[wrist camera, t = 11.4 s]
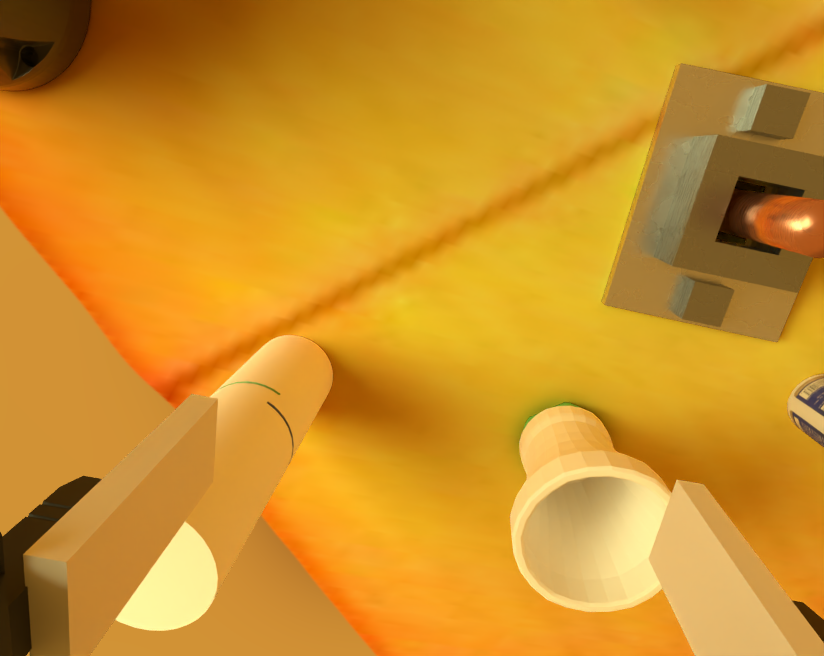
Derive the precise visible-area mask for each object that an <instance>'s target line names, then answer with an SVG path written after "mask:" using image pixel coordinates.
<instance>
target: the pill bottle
mask: <svg viewBox="0 0 824 656" xmlns="http://www.w3.org/2000/svg"><path fill="white" fill-rule="evenodd" d="M787 410H788V414H789V417H790V419H791V421H792V422H793V423H794V424H795V425H796V426H797V427H798V428H799V429H801V430H802V431H803V432H805V433H806V434H807V435H809V436H810V437H811V438H812V439H814V440H815V441H816V442H818V443H819V444H820V445H821V446H823V447H824V374H819V375H815V376H812V377H809V378H807V379H805V380H803V381H802V382H801V383H799V384H798V385H797V386H796V387H795V389H794V390H793V391H792V393H791V395H790V397H789V399H788V404H787Z"/></svg>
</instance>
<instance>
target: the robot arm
mask: <svg viewBox="0 0 824 656" xmlns="http://www.w3.org/2000/svg"><path fill="white" fill-rule="evenodd" d="M90 9H91V0H0V90H6V91H21V90H28V89H32V88H36V87H39V86H42V85H44V84H46V83H48V82H50V81H51V80H53V79H54V78H56V77H57V76H59V75H60V74H61V73H62V72H63V71H64V70H65V69H66V68H67V67H68V66H69V65H70V64H71V62H72V61H73V60H74V58H75V57H76V55H77V53H78V51H79V50H80V48H81V45H82V43H83V41H84V38H85V35H86V32H87V28H88V24H89V18H90ZM217 409H218V399H217V398H211V397H206V396H200V395H194V394H191V395H190V396H189V397H188V398H187V399H186V400H185V401H184V402H183V403H182V404H181V405H180V406H179V407H177V408H176V409H175V410H174V411H173V412H172V413H171V414H170V415H169V416H168V417H167V418H166V419H165V420H164V421H163V422H162V423H161V424H160V425H159V426H157V427H156V428H155V429H154V430H153V431H152V432H151V433H150V434H149V435H148V436H147V437H146V438H145V439H144V440H143V441H142V442H141V443H140V444H139V445H138V446H136V447H135V448H134V449H133V450H132V451H131V452H130V453H129V454H128V455H127V456H126V457H125V458H124V459H123V460H122V461H121V462H120V463H119V464H118V465H117V466H115V467H114V468H113V469H112V470H111V471H110V472H109V473H108V474H107V475H106V476H105V477H104V478H103V479H98V478H93V477H86V476H82V477H80V478H78V479H76V480H74V481H71V482H69V483H68V484H65V485H63V486H61V487H59V488H58V489H57V490H56V491H55V492H54V493H53V494H51V495H50V496H49V497H48V498H47V499H46V500H44V501H43V504H42V505H39V506H37V507H36V508H35V509H34V510H33V511H32V512H31V513H29V516H28V517H25V518H24V519H22V520H21V521H20V522H19V523H18V524H17V525H16V526H14V527H13V528H12V529H11V530H10V531H9V532H8V533H7V534H5V535H4V536H3V537H2V534H1V533H0V656H26V655H27V654H28V652H29V651H30V656H90V654H91V653H92V652H93V650H94V649H95V647H96V646H97V645H98V643H99V642H100V640H101V639H102V638H103V636H104V635H105V633H106V632H107V631H108V629H109V627H110V626H111V625H112V624H113V622H114V621H115V619H116V618H117V617H118V615H119V614H120V612H121V611H122V609H123V608H124V607H125V605H126V604H127V602H128V601H129V600H130V598H131V597H132V595H133V594H134V593H135V591H136V590H137V588H138V587H139V586H140V584H141V583H142V581H143V580H144V578H145V577H146V576H147V574H148V573H149V571H150V570H151V569H152V567H153V566H154V564H155V563H156V562H157V560H158V559H159V557H160V556H161V555H162V553H163V552H164V550H165V549H166V547H167V546H168V545H169V543H170V542H171V540H172V539H173V538H174V536H175V535H176V533H177V532H178V531H179V529H180V528H181V526H182V525H183V524H184V522H185V521H186V519H187V518H188V516H189V515H190V514H191V512H192V511H193V509H194V508H195V507H196V505H197V504H198V502H199V501H200V500H201V498H202V497H203V495H204V494H205V493H206V491H207V490H208V488H209V487H210V485H211V484H212V483H213V477H214V460H215V443H216V426H217ZM648 559H649V561H650V564H651V566H652V568H653V570H654V572H655V574H656V576H657V578H658V580H659V582H660V584H661V586H662V588H663V590H664V593H665V595H666V597H667V599H668V601H669V603H670V605H671V607H672V609H673V611H674V613H675V615H676V617H677V619H678V621H679V624H680V626H681V628H682V630H683V632H684V634H685V636H686V638H687V640H688V642H689V644H690V646H691V648H692V650H693V653H694V655H695V656H824V620H823V619H822V618H821V617H820V616H818V615H817V614H816V613H815V612H814V611H812V610H811V609H810V608H809V607H808V606H806V605H805V604H804V603H803V602H797V601H792V600H791V599H790V598H789V596H788V595H787V594H786V592H785V591H784V590H783V588H782V587H781V586H780V584H779V583H778V582H777V580H776V579H775V578H774V576H773V575H772V574H771V573H770V571H769V570H768V569H767V567H766V566H765V565H764V563H763V562H762V561H761V559H760V558H759V557H758V555H757V554H756V553H755V551H754V550H753V549H752V547H751V546H750V545H749V543H748V542H747V541H746V539H745V538H744V537H743V535H742V534H741V533H740V532H739V530H738V529H737V528H736V526H735V525H734V524H733V522H732V521H731V520H730V518H729V517H728V516H727V514H726V513H725V512H724V510H723V509H722V508H721V506H720V505H719V504H718V502H717V501H716V500H715V498H714V497H713V496H712V494H711V493H710V492H709V491H708V489H707V488H706V487H705V485H704V484H700V483H694V482H688V481H683V480H676V483H675V486H674V488H673V491H672V494H671V497H670V500H669V502H668V505H667V508H666V511H665V514H664V516H663V519H662V522H661V525H660V528H659V530H658V533H657V536H656V539H655V542H654V544H653V547H652V550H651V553H650V556H649V558H648Z"/></svg>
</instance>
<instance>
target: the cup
mask: <svg viewBox="0 0 824 656" xmlns="http://www.w3.org/2000/svg"><path fill="white" fill-rule="evenodd" d="M519 448H520V456H521V461H522V464H523V467H524V470H525V472H526V473H527V480H526V481H525V483H524V484H523V486H522V488H521V489H520V491H519V493H518V494H517V496H516V498H515V501H514V504H513V508H512V511H511V514H510V523H511V534H512V543H513V553H514V556H515V559H516V562H517V564H518V567H519V570H520V572H521V573H522V575H523V576H524V577H525V579H526V580H527V581H528V582H529V584H530V585H531V586H532V587H533V588H534V589H535V590H536V591H537V592H539V593H540V594H541V595H542V596H543V597H545V598H546V599H547V600H549V601H552V602H554V603H557V604H559V605H562V606H564V607H566V608H571V609H576V610H581V611H586V612H611V611H616V610H621V609H627V608H632V607H634V606H636V605H638V604H640V603H642V602H644V601H646V600H648V599H650V598H652V597H653V596H654V595H656V594H657V593H658V592H659V591H661V590H662V589H663V588H662V586H661V584H660V582H659V580H658V578H657V576H656V574H655V572H654V570H653V568H652V566H651V564H650V561H649V559H648V558H649V556H650V553H651V550H652V547H653V544H654V542H655V539H656V536H657V533H658V530H659V528H660V525H661V522H662V519H663V516H664V514H665V511H666V508H667V505H668V502H669V500H670V497H671V494H672V493H671V492H670V490H669V489H668V487H667V486H666V484H665V483H664V481H663V480H662V478H661V477H660V476H659V475H658V474H657V473H656V472H655V471H653V470H652V469H651V468H650V467H649V466H648V465H647V464H646V463H644V462H642V461H640V460H637V459H635V458H632V457H630V456H628V455H625V454H622V453H619V452H617V451H616V450H615V449H614V447H613V444H612V440H611V437H610V435H609V433H608V431H607V429H606V428H605V426H604V425H603V423H602V422H601V420H600V419H599V418H597V417H596V416H595V415H594V414H593V413H592V412H590V411H587V410H585V409H583V408H580V407H578V406H576V405H574V404H571V403H566V402H564V403H562V404H560V405H557V406H554V407H552V408H548V409H545V410H544V411H542V412H540V413H538V414H536V415H534V416H531V417H529V418H528V420H527V421H526V423H525V426H524V429H523V432H522V435H521V438H520V441H519Z"/></svg>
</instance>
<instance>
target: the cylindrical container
mask: <svg viewBox="0 0 824 656" xmlns="http://www.w3.org/2000/svg"><path fill="white" fill-rule="evenodd" d="M332 383H333V369H332V366H331V362H330V360H329V358H328V356H327V355H326V353H325V352H324V351H323V350H322V349H321V348H320V347H319V346H318V345H317V344H316V343H314V342H312V341H311V340H309V339H306V338H304V337H301V336H295V335H285V336H280V337H277V338H274V339H272V340H270V341H269V342H268V343H266V344H265V345H264V346H263V347H262V348H261V349H260V350H259V351H258V352H257V353H256V354H254V355H253V356H252V357H251V358H250V359H249V360H248V361H247V362H246V363H245V364H244V365H243V366H242V367H241V368H240V369H239V370H238V371H237V372H236V373H235V374H233V375H232V376H231V377H230V378H229V379H228V380H227V381H226V382H225V383H224V384H223V385H222V386H221V387H220V388H219V389H218V390H217V391H216V392H215V393H214V394H213V395H211V396H210V397H211V398H217V399H218V409H217V426H216V443H215V460H214V477H213V483H212V484H211V485H210V487H209V488H208V490H207V491H206V493H205V494H204V495H203V497H202V498H201V500H200V501H199V502H198V504H197V505H196V507H195V508H194V509H193V511H192V512H191V514H190V515H189V516H188V518H187V519H186V521H185V522H184V524H183V525H182V526H181V528H180V529H179V531H178V532H177V533H176V535H175V536H174V538H173V539H172V540H171V542H170V543H169V545H168V546H167V547H166V549H165V550H164V552H163V553H162V555H161V556H160V557H159V559H158V560H157V562H156V563H155V564H154V566H153V567H152V569H151V570H150V571H149V573H148V574H147V576H146V577H145V578H144V580H143V581H142V583H141V584H140V586H139V587H138V588H137V590H136V591H135V593H134V594H133V595H132V597H131V598H130V600H129V601H128V602H127V604H126V605H125V607H124V608H123V609H122V611H121V612H120V614H119V615H118V617H117V618H116V619H115V620H117V621H119V622H122V623H124V624H127V625H129V626H132V627H136V628H141V629H145V630H170V629H177V628H179V627H182V626H185V625H188V624H190V623H192V622H193V621H195V620H197V619H198V618H199V617H200V616H202V615H203V614H204V613H205V612H206V611H207V609H208V608H209V606H210V605H211V603H212V602H213V600H214V598H215V597H216V595H217V593H218V591H219V589H220V587H221V586H222V584H223V582H224V580H225V578H226V577H227V575H228V573H229V571H230V569H231V568H232V566H233V564H234V562H235V560H236V559H237V557H238V555H239V553H240V551H241V549H242V548H243V546H244V544H245V542H246V541H247V539H248V537H249V535H250V533H251V532H252V530H253V528H254V526H255V524H256V522H257V521H258V519H259V517H260V515H261V514H262V512H263V510H264V508H265V506H266V505H267V503H268V501H269V499H270V497H271V496H272V494H273V492H274V490H275V489H276V487H277V485H278V483H279V481H280V480H281V478H282V476H283V474H284V473H285V471H286V469H287V467H288V465H289V464H290V462H291V460H292V458H293V456H294V455H295V453H296V451H297V449H298V447H299V446H300V444H301V442H302V440H303V438H304V436H305V435H306V433H307V431H308V429H309V427H310V426H311V424H312V422H313V420H314V418H315V417H316V415H317V413H318V411H319V410H320V408H321V406H322V404H323V402H324V401H325V399H326V397H327V395H328V394H329V392H330V389H331V387H332Z"/></svg>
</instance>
